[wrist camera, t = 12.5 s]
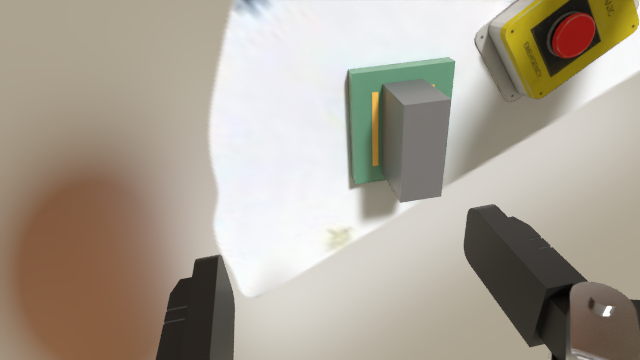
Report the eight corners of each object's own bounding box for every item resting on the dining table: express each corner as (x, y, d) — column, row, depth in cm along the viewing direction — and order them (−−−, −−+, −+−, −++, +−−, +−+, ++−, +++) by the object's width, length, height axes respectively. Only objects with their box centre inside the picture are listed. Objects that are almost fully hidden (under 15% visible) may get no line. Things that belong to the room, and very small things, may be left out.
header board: (348, 69, 37) (361, 85, 32) (448, 57, 38) (473, 70, 33) (352, 177, 43) (363, 202, 39) (438, 164, 44) (458, 187, 40)
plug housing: (382, 83, 36) (404, 105, 31) (422, 78, 37) (451, 99, 32) (381, 171, 41) (400, 202, 36) (417, 166, 42) (440, 196, 37)
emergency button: (493, 43, 34) (657, -83, 31) (468, 34, 37) (613, -80, 34) (529, 118, 38) (676, 15, 35) (504, 103, 42) (635, 9, 39)
